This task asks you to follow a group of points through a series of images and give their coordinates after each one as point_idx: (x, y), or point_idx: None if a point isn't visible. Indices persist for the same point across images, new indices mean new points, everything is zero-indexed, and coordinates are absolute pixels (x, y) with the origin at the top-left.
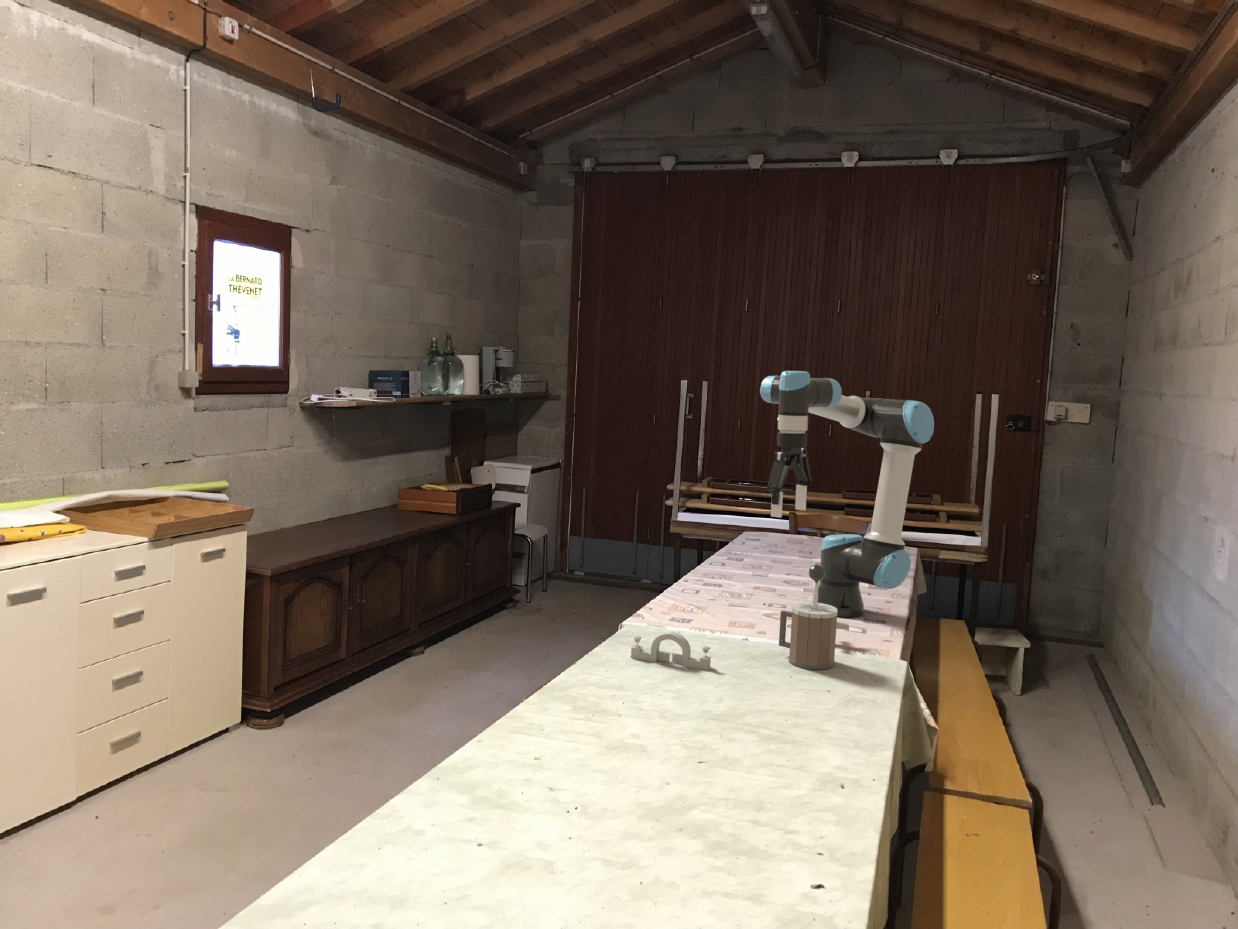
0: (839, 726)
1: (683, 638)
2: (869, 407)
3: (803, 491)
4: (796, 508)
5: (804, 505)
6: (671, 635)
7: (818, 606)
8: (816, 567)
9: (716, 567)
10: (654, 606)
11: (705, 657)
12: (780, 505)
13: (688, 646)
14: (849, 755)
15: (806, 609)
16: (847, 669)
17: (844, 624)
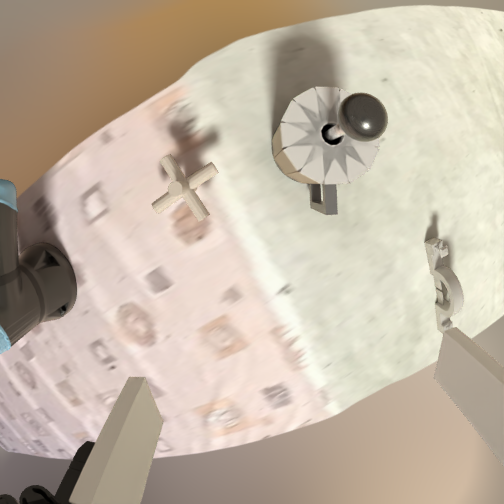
0: (446, 44)
1: (453, 284)
2: None
3: (111, 481)
4: (159, 420)
5: (135, 399)
6: (462, 295)
7: (314, 134)
8: (383, 109)
9: (73, 452)
10: (253, 440)
11: (439, 247)
12: (495, 363)
13: (447, 274)
14: (474, 29)
15: (357, 141)
16: (288, 95)
17: (172, 161)
